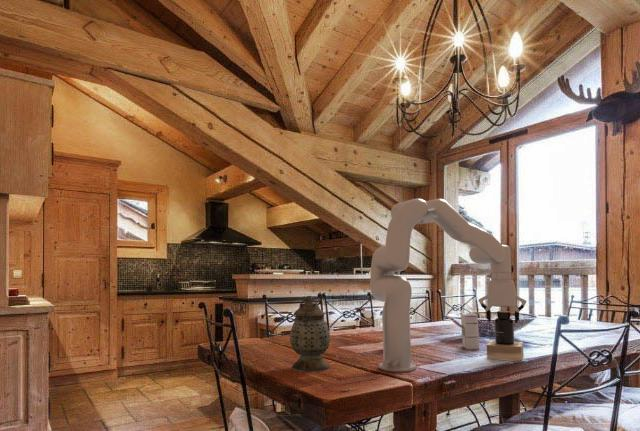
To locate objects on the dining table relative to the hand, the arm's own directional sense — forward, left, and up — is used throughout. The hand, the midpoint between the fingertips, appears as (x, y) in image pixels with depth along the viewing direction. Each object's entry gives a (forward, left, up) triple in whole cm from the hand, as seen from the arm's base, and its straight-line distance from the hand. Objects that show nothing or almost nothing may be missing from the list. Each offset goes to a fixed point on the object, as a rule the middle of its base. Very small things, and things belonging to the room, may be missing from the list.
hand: (502, 322), depth 182 cm
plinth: (0, 0, -13) cm, 13 cm away
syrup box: (+15, +15, -13) cm, 25 cm away
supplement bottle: (0, 0, -8) cm, 8 cm away
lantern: (-46, +60, -13) cm, 76 cm away
